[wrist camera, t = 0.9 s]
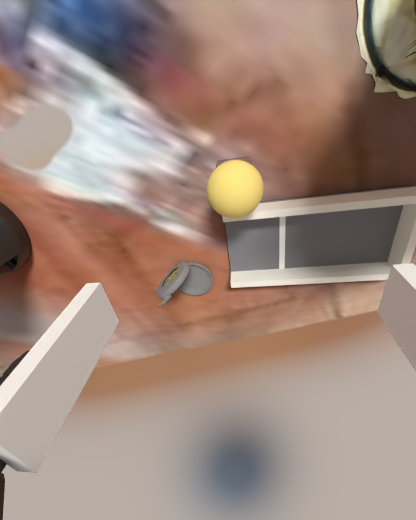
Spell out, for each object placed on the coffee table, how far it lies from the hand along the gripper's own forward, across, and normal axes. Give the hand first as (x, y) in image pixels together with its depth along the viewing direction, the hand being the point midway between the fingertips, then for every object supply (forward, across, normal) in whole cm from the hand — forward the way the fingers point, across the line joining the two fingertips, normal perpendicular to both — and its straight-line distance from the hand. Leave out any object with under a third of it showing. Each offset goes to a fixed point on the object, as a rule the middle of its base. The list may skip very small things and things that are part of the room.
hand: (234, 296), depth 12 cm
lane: (+24, +10, -10) cm, 28 cm away
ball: (+20, 0, 0) cm, 20 cm away
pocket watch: (+24, -9, -15) cm, 30 cm away
